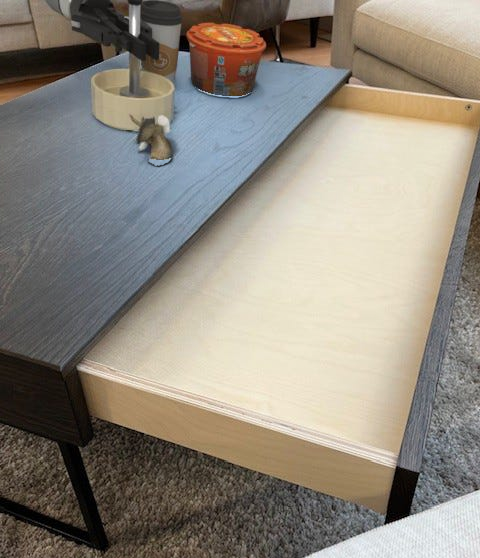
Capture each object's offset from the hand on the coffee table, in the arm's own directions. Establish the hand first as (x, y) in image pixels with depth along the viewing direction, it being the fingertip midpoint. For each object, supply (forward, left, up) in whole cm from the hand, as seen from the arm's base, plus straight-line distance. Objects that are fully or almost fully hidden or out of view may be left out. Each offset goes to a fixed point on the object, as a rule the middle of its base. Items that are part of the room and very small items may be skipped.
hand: (150, 51), depth 102 cm
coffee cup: (-4, +19, -13) cm, 23 cm away
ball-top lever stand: (-4, +4, -11) cm, 12 cm away
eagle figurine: (+4, -11, -13) cm, 17 cm away
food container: (+8, +25, -13) cm, 29 cm away
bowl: (-4, +2, -12) cm, 13 cm away
